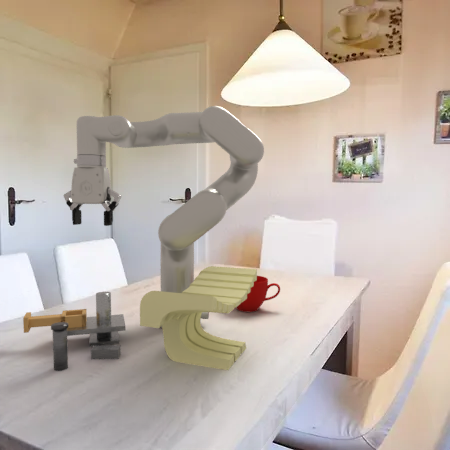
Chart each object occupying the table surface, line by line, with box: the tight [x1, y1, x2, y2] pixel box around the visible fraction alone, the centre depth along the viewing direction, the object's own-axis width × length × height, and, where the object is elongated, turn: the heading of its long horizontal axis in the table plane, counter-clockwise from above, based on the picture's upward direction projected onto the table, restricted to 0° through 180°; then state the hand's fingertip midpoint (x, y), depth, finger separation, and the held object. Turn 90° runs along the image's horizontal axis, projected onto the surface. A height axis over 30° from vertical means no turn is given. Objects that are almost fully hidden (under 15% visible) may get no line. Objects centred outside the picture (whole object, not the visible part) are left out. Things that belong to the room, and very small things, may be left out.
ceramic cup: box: [236, 275, 281, 313], centre depth 129 cm, size 13×17×10 cm
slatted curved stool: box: [139, 265, 258, 371], centre depth 92 cm, size 30×16×18 cm, turn 160°
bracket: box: [22, 308, 88, 334], centre depth 97 cm, size 14×6×4 cm, turn 108°
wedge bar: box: [90, 344, 122, 360], centre depth 90 cm, size 6×3×2 cm, turn 92°
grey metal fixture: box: [67, 291, 126, 347], centre depth 100 cm, size 15×10×12 cm, turn 108°
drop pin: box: [50, 322, 69, 372], centre depth 84 cm, size 3×3×9 cm
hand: (92, 224), depth 111 cm, fingers open, 9 cm apart
